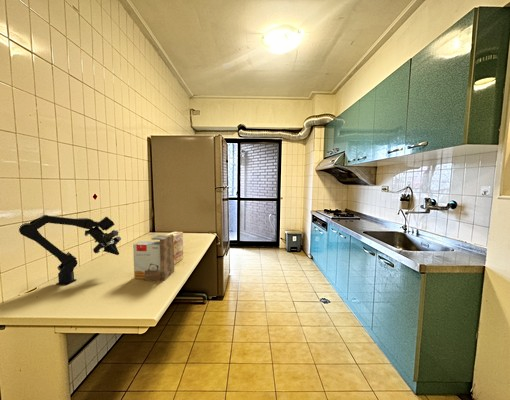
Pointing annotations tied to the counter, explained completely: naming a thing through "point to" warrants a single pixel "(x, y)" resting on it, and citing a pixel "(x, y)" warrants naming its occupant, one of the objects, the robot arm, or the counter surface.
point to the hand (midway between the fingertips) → (118, 254)
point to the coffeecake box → (177, 246)
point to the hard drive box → (146, 257)
